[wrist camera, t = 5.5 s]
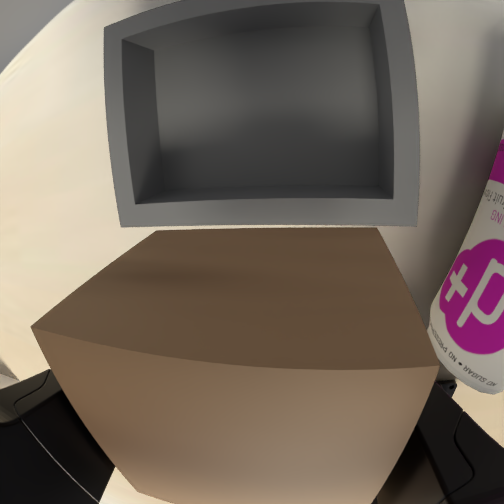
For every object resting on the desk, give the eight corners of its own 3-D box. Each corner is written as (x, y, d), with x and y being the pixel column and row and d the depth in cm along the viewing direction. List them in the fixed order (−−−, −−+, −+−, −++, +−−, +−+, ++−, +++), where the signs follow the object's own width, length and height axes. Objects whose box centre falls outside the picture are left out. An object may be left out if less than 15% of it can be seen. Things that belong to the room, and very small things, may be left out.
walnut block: (355, 394, 10) (355, 525, 5) (192, 383, 11) (137, 491, 6) (376, 227, 7) (440, 365, 3) (156, 230, 9) (30, 326, 4)
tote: (395, 204, 17) (416, 226, 13) (159, 206, 20) (120, 227, 16) (383, 16, 12) (400, -14, 8) (145, 42, 16) (103, 27, 12)
